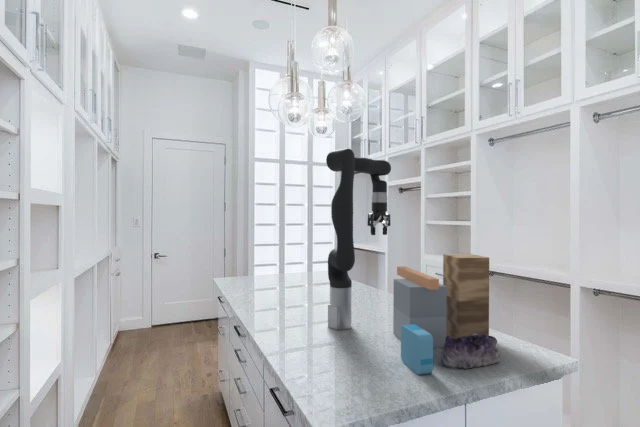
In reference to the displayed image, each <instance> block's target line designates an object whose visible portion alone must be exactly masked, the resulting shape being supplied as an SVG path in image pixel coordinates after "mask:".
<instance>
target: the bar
mask: <svg viewBox="0 0 640 427" xmlns="http://www.w3.org/2000/svg"><path fill="white" fill-rule="evenodd" d="M396 275H397V276H399V277H401V278H402V279H407V280H410V281H412V282H414V283H416V284H418V285H421V286H423V287H425V288H427V289H429V290H432V289H439V284H440V279H439V278H436V277H435V276H434V277H433V276H431V275H428V274H427V273H424V272H420V271H418V270H415V269H412V268H410V267H407V266H397V267H396Z"/></svg>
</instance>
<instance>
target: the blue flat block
mask: <svg viewBox="0 0 640 427" xmlns="http://www.w3.org/2000/svg"><path fill="white" fill-rule="evenodd" d="M400 359H401V361H402V363H403V364H405V366H407V367H408V368H409V369H410V370H412V371H413V372H414V373H415V374H416V375H419V376H420V375H426V374H427V375H429V374H432V373H433V372H434V348H433V337H432V335H431V334H430V333H428V332H427V331H425V330H423V329H422V328H420V327H418V326H417V325H415V324H413V325H402V327H401V341H400Z"/></svg>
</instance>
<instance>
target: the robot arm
mask: <svg viewBox="0 0 640 427" xmlns="http://www.w3.org/2000/svg"><path fill="white" fill-rule="evenodd" d="M325 162H326V166H327V167H328V169H329V170H330V171H332V172H336V173H337V172H340V173H341V174H340V175H341V176H340V182H339V185H338V187H337V189H336V191H335V193H334V195H333V197H332V200H331V208H330V209H331V211H330V212H331V213H330V215H331V223H332V225H333V228H334V231H335V234H336V242H337V243H336V248H333V249H332V250H330V252H329V253H328V258H327V277H328V281H329V304H327V328H330V329H333V330H336V331H343V330H344V331H346V330H349V329H351V328H352V298H353V297H352V292H353V291H352V288H353V287H352V286H353V285H352V284H353V283H352V279H351V278H350V276H349V274H348V272H349V271H351V270H352V269H353V267H354V265H355V262H356V254H355V246H354V181H355V180H354V179H355V173H356V172H357V173H362V174H366V175H367V174H368V175H369V176H370V180H371V183H372V195H371V212H372V213H367V226H368V227H369V228H370V235H371V236H376V226H377V225H378V224H381V225H382V235H383V236H386V235H388V227H390V226H391V214H390V213H386V212H388V183H387V181H385V180H382V179H380V176H381V177H383V176H387V175H389V174H390V173H391V171H392V165H391V164H390V162H389V161H387V160H381V159H373V158H367V157H356V156H355V153H354V151H353V150H352V149H351V148H341V149H335V150H334V149H333V150H332V151H330V152H328V153H327V155H326V161H325Z"/></svg>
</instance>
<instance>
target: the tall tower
mask: <svg viewBox="0 0 640 427" xmlns="http://www.w3.org/2000/svg"><path fill="white" fill-rule="evenodd" d="M442 256H443V258H442V259H443V261H442V262H443V264H442V269H443V270H442V272H443V274H442V285H444V286H446V336H447V335H448V336H449V337H450V338H455V339H457V338H458V337H464V336H465V337H467V336H469V335H473V334H476V333H477V334H478V335H481V334H485V335H486V338H488V337H489V336H490V257H488V256H483V255H478V254H474V253H454V254H453V253H451V254H450V253H447V254H446V253H445V254H444V253H443V255H442Z"/></svg>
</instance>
